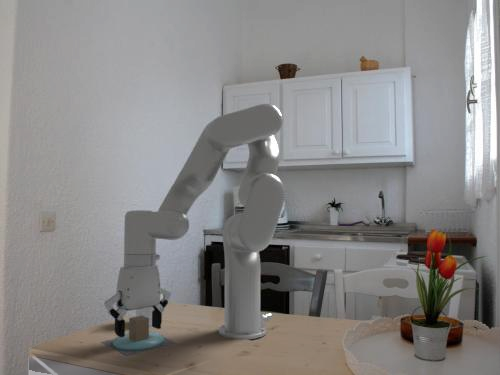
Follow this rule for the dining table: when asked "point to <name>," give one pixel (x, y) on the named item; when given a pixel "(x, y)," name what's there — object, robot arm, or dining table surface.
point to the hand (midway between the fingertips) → (138, 331)
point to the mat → (127, 353)
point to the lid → (138, 336)
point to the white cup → (147, 312)
